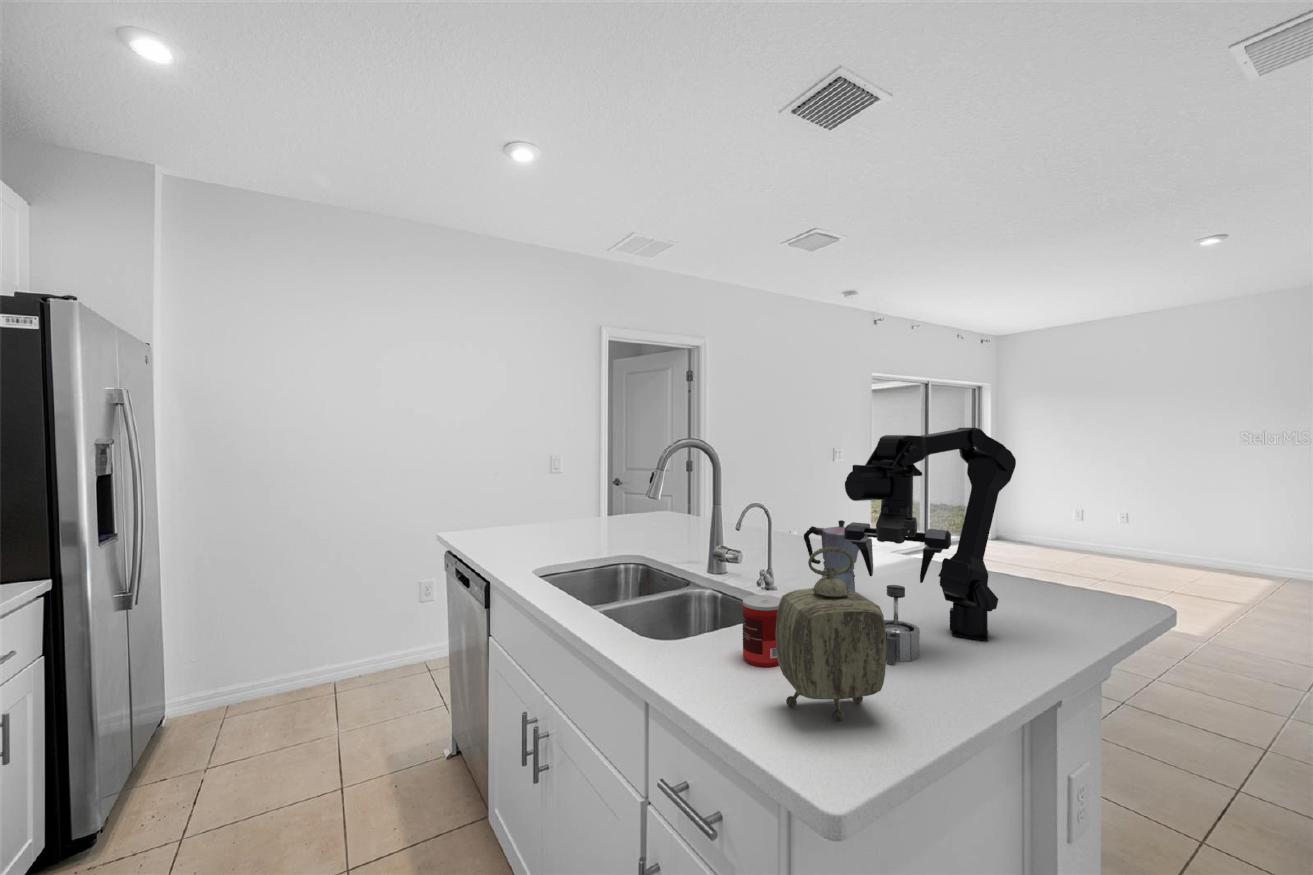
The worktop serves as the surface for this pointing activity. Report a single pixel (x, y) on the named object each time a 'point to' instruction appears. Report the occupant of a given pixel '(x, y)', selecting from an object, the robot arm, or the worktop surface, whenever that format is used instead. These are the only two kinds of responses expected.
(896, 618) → the plunger
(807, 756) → the worktop surface
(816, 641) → the tabletop clock
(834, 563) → the moka pot
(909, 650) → the press carafe
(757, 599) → the canned food
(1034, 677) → the worktop surface
